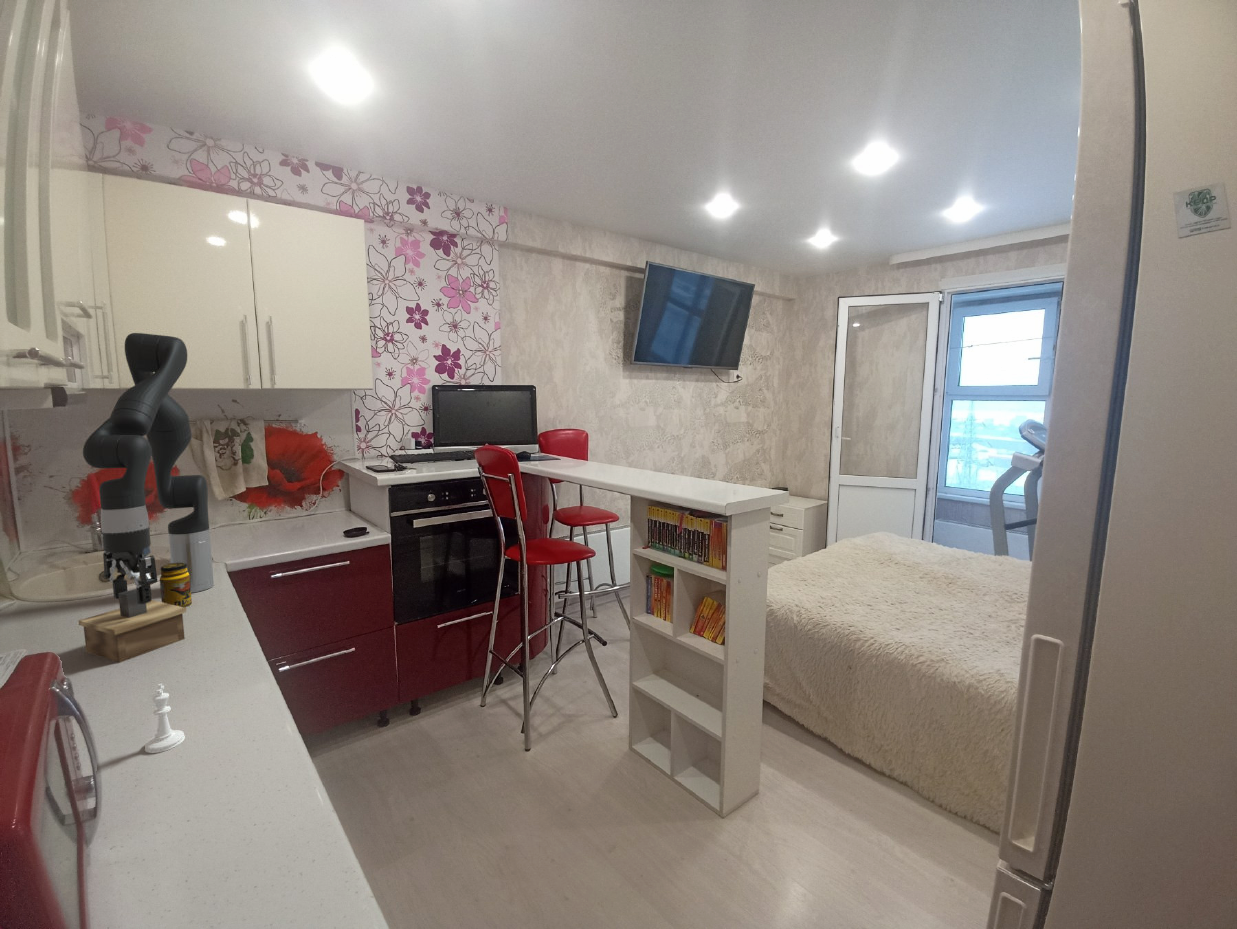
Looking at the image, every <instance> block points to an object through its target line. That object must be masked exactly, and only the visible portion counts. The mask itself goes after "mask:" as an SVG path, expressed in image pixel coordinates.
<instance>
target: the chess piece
mask: <svg viewBox="0 0 1237 929" xmlns="http://www.w3.org/2000/svg"><path fill="white" fill-rule="evenodd" d="M164 689H165V685H163V683H159V684H158V685H157V689H156V691H155V692H156V694H155V695H154V696H153V697H152V702H153V703H154V704H155V707H156V709H154V711H153V713H152V714H153V715H154V716H158V724H157V732H156V734H155V735H154V736H152V737H151V738H150V739H148V740H147V741H146V743H145V744H144V751H145V753H149V754H157V753H158V754H159V753H162V752H166V751H169V750H171V749H173V748H176V747H177V746H179V745H180V744H181V743H183V741H184V740H185V739H186V736H185V733H184V731H183V730H181V729H180V730H179V729H175V730H174V729H172V728H171V725H170V721H169V718H168V714H167V713H168V712H170V711H171V710H172V708H171V706H170V705H167V704H168V701H169V698H170V694H169V692H164Z"/></svg>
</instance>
